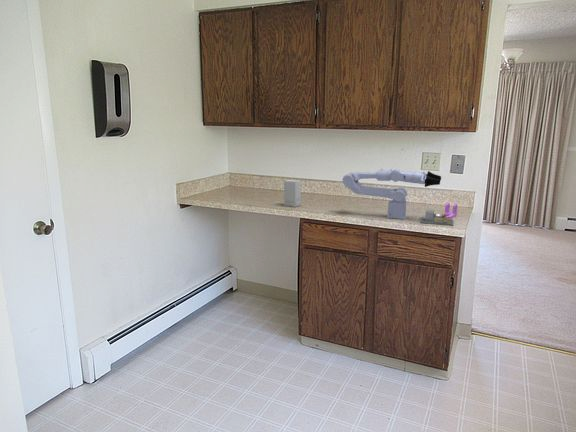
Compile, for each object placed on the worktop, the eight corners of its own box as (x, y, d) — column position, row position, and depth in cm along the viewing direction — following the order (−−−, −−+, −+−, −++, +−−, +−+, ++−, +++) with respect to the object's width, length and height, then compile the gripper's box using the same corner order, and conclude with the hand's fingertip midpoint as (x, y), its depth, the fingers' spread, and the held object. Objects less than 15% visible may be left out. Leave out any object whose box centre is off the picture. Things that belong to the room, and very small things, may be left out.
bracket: (446, 214, 246) (447, 202, 245) (456, 215, 243) (457, 203, 242) (439, 218, 236) (440, 205, 235) (449, 219, 233) (451, 207, 231)
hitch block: (420, 221, 229) (421, 211, 228) (421, 218, 234) (422, 209, 233) (446, 223, 224) (446, 213, 223) (446, 220, 230) (447, 211, 229)
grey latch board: (420, 222, 225) (420, 215, 224) (422, 218, 236) (422, 211, 235) (453, 225, 219) (453, 218, 218) (453, 220, 230) (454, 213, 229)
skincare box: (300, 205, 265) (301, 180, 262) (295, 207, 260) (295, 181, 256) (289, 204, 270) (289, 179, 266) (283, 205, 264) (283, 180, 261)
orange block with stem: (432, 219, 227) (432, 213, 226) (432, 217, 231) (433, 211, 231) (445, 220, 225) (446, 214, 224) (446, 218, 229) (446, 213, 228)
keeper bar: (433, 220, 223) (433, 217, 223) (433, 220, 224) (434, 217, 224) (452, 222, 220) (452, 219, 219) (452, 222, 221) (452, 219, 220)
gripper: (412, 173, 222) (440, 176, 217) (416, 166, 234) (442, 169, 230) (411, 186, 224) (438, 190, 220) (414, 179, 237) (440, 182, 232)
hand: (440, 180), depth 225 cm, fingers open, 7 cm apart
